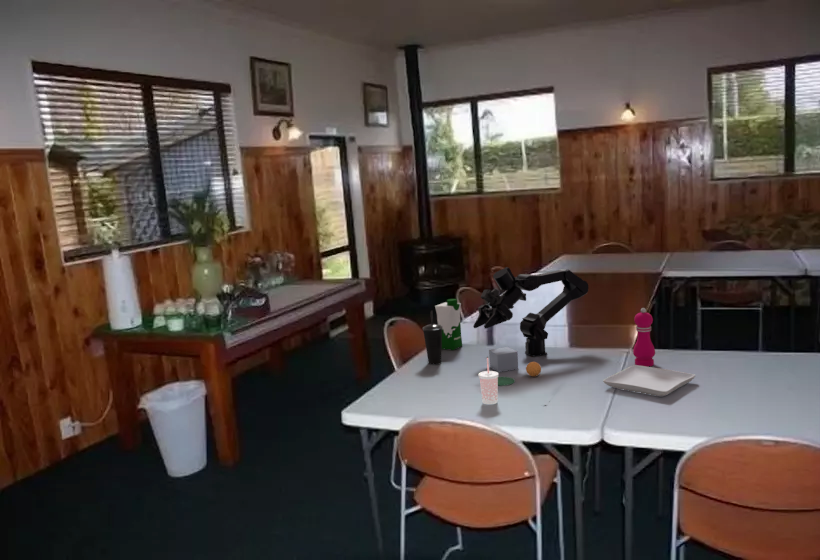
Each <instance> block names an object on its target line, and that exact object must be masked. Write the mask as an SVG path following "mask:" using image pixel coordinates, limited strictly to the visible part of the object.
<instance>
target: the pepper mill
mask: <svg viewBox="0 0 820 560" xmlns="http://www.w3.org/2000/svg"><path fill="white" fill-rule="evenodd" d="M633 319H634V321H633V322H634V324H635V325H636V326H635V331H636V333H637V339H636V342H635V344H634V346H633V348H632V349H633V350H632V354H633V355H634V357H635V359H634V365H639V366H646V367H649V366H650V367H652V366H654V364H655V359H654V357H655V355H656V349H655V346H654V344H653V342H652V339H651V331H652V326H651V325H652V324H653V321H654V318H653V316H652V314H650V313H649V312H647V309H646V308H645V307H641V309H640V311H639V312H638V313H637V314H635V316H634V318H633Z"/></svg>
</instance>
